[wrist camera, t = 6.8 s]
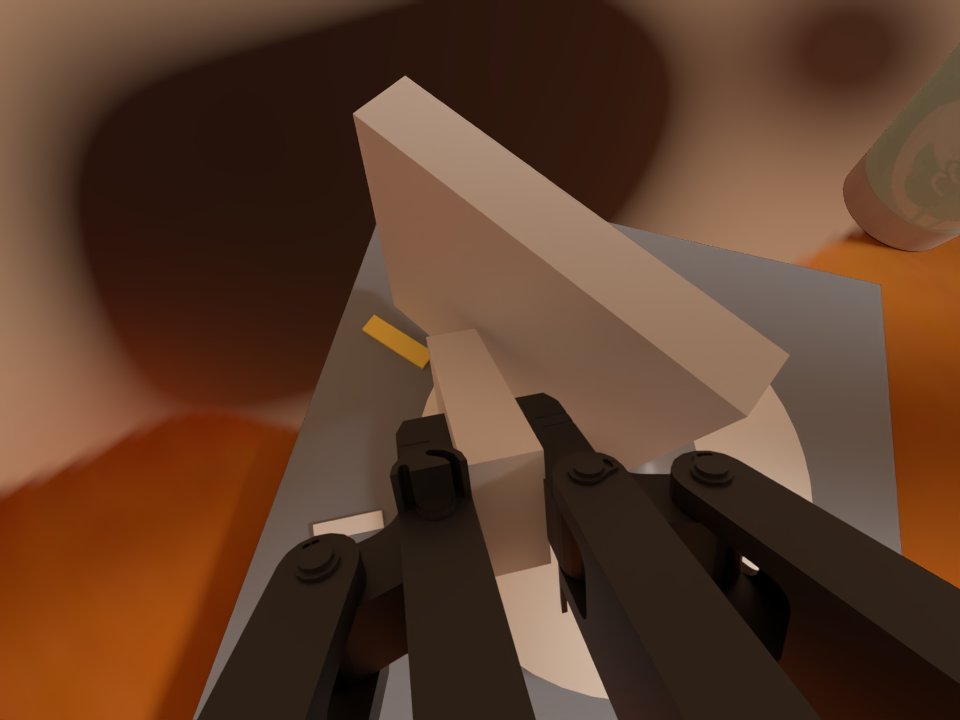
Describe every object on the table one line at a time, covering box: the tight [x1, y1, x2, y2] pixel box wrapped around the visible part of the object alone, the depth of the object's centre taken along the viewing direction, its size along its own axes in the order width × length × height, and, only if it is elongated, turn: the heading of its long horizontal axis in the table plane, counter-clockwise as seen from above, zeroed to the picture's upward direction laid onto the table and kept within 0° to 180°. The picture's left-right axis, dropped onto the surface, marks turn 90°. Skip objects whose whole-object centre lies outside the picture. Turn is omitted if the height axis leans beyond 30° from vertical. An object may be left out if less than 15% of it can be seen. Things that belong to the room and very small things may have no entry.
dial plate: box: [193, 222, 902, 720], centre depth 20 cm, size 23×23×2 cm
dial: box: [353, 76, 813, 699], centre depth 14 cm, size 17×14×10 cm
